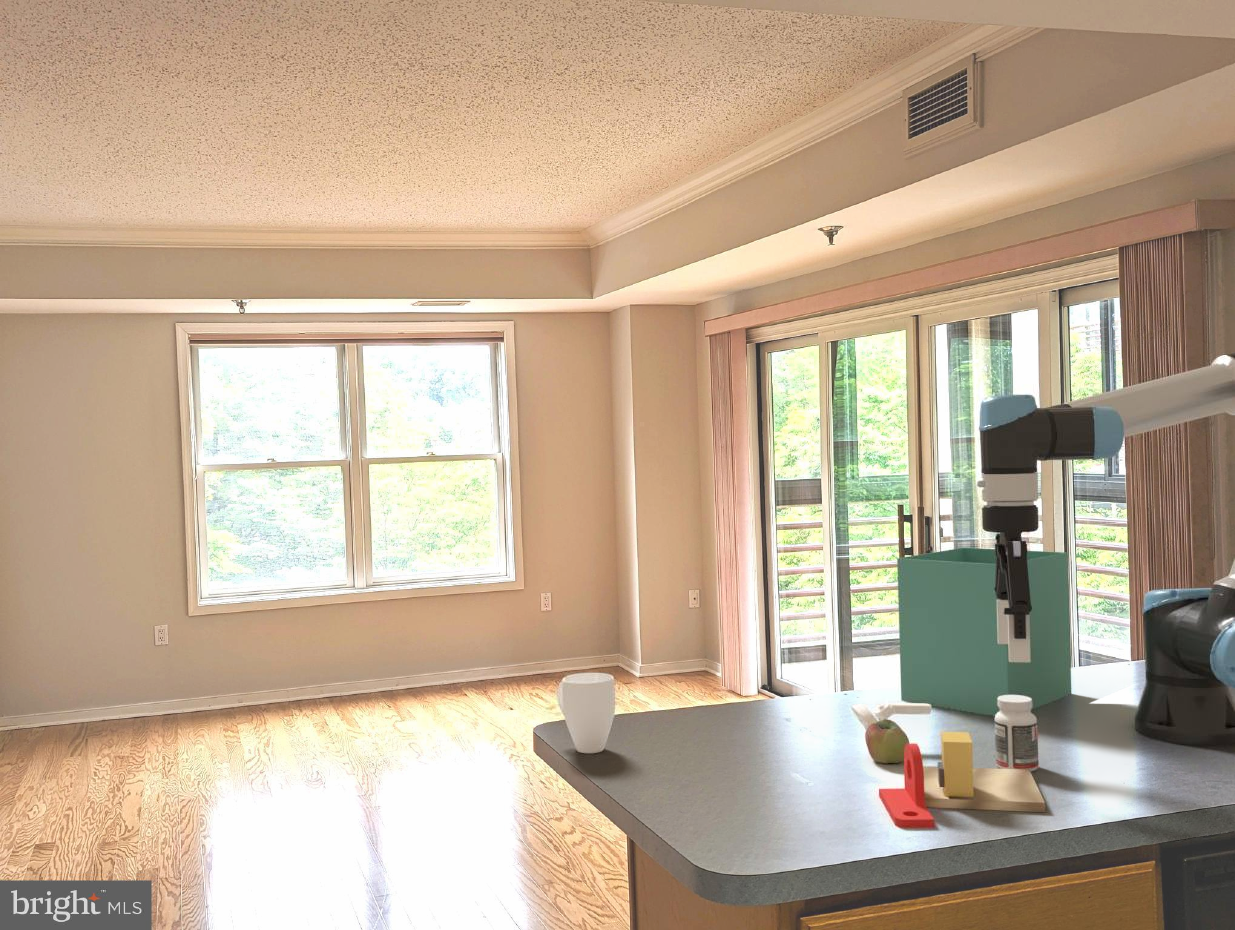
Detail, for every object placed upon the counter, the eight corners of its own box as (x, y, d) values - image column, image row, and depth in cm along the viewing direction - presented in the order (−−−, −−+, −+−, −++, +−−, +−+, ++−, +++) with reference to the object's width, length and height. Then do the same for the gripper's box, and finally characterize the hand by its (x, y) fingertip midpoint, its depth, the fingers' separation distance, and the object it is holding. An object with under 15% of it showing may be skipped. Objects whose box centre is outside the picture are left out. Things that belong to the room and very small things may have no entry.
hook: (935, 756, 160) (934, 709, 160) (852, 754, 163) (851, 707, 162) (930, 742, 168) (929, 698, 167) (852, 740, 170) (851, 696, 170)
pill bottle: (1042, 765, 154) (1040, 696, 154) (1034, 775, 149) (1032, 704, 149) (1001, 760, 157) (999, 692, 157) (991, 770, 153) (989, 700, 152)
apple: (877, 750, 164) (876, 712, 164) (919, 762, 158) (918, 722, 158) (850, 758, 161) (849, 719, 160) (892, 770, 154) (891, 729, 154)
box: (967, 680, 211) (963, 547, 210) (1071, 695, 195) (1067, 552, 195) (901, 701, 195) (897, 558, 195) (1009, 720, 180) (1004, 564, 179)
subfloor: (1029, 778, 148) (1029, 769, 148) (1045, 812, 135) (1044, 802, 135) (916, 774, 152) (916, 765, 152) (921, 806, 138) (920, 797, 138)
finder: (968, 732, 142) (936, 731, 143) (972, 742, 137) (938, 741, 138) (969, 784, 142) (937, 783, 143) (973, 797, 138) (940, 795, 138)
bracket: (879, 797, 143) (877, 737, 143) (913, 796, 143) (911, 737, 143) (896, 829, 131) (894, 764, 131) (934, 828, 131) (932, 763, 131)
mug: (627, 749, 169) (625, 677, 169) (584, 760, 164) (582, 685, 164) (582, 735, 178) (580, 666, 178) (540, 745, 173) (538, 674, 173)
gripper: (974, 499, 166) (977, 636, 166) (991, 509, 142) (995, 669, 142) (1025, 498, 164) (1029, 637, 164) (1051, 508, 140) (1055, 670, 140)
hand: (1013, 652), depth 153 cm, fingers open, 13 cm apart
